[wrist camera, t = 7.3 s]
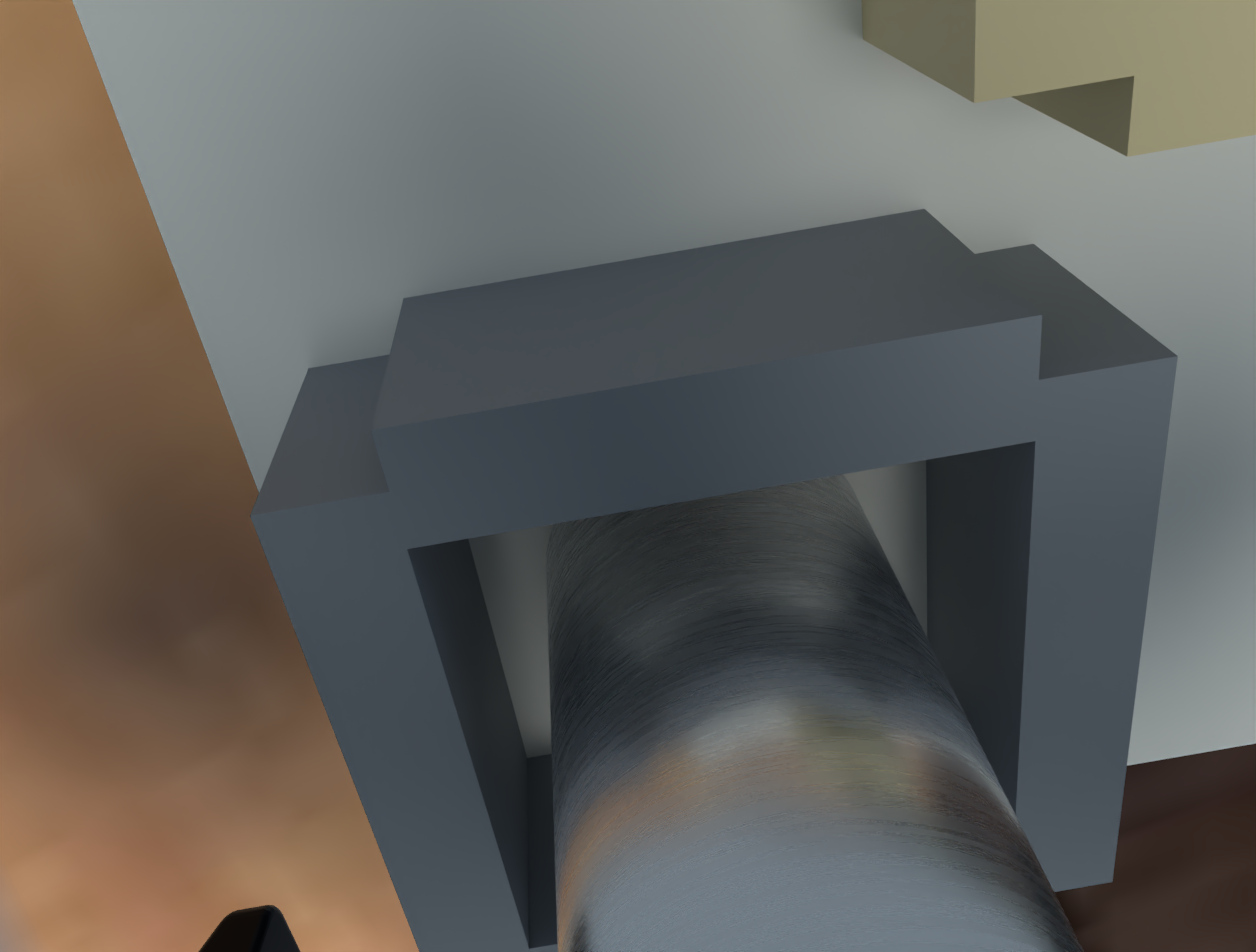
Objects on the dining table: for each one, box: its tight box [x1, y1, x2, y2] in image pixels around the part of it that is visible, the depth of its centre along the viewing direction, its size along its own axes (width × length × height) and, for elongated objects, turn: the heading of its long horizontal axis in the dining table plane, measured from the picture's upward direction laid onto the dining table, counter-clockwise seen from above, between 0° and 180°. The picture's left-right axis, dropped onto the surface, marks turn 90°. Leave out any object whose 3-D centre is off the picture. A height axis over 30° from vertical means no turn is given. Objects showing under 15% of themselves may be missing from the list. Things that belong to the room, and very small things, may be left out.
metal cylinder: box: [546, 474, 1084, 952], centre depth 10 cm, size 4×4×9 cm
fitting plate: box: [72, 0, 1256, 952], centre depth 11 cm, size 16×14×4 cm
